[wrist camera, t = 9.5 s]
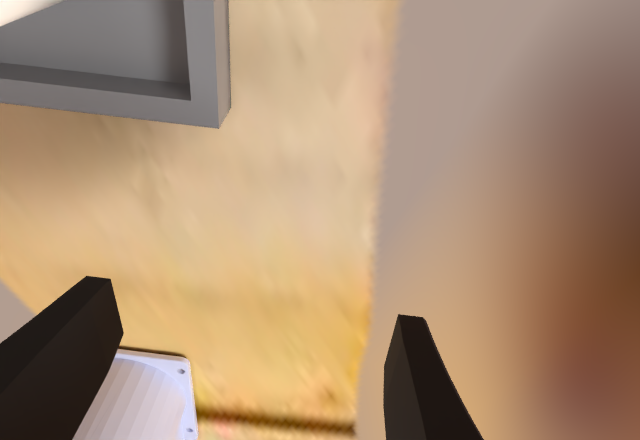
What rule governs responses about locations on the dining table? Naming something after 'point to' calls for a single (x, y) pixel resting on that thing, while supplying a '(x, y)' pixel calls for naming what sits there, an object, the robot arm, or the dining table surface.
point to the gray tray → (122, 59)
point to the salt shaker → (22, 8)
